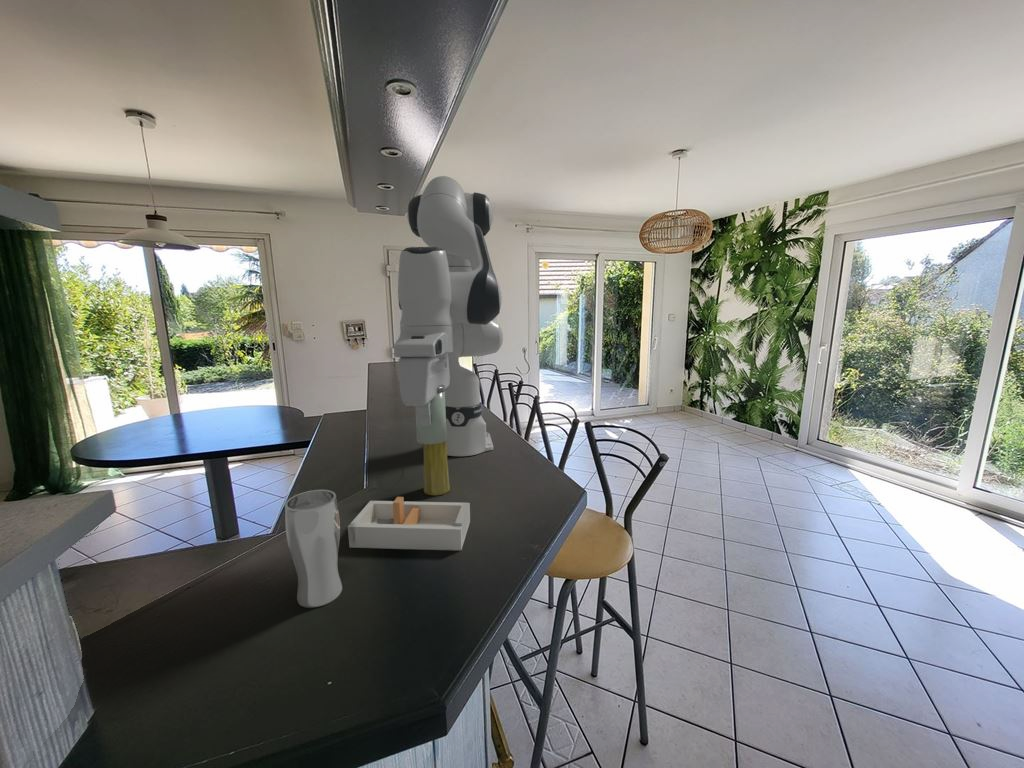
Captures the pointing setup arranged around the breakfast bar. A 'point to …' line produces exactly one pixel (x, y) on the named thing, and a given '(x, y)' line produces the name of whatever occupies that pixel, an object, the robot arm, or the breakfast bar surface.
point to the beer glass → (314, 545)
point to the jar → (434, 421)
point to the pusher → (401, 514)
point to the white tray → (411, 526)
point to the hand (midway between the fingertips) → (430, 420)
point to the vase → (436, 469)
